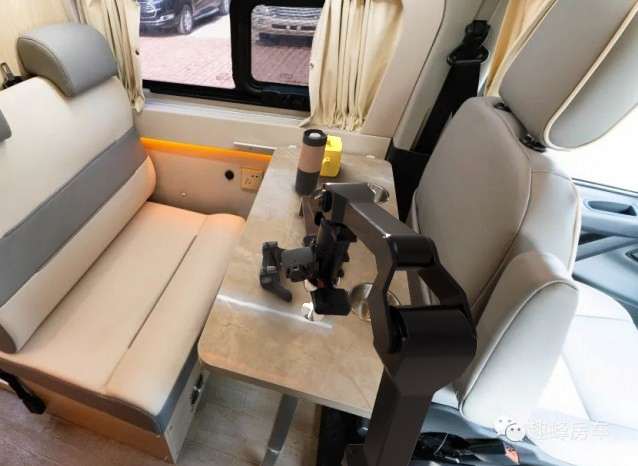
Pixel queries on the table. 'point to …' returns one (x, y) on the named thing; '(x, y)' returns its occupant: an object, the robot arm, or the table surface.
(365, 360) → the table surface
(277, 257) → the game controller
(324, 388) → the table surface
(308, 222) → the chute
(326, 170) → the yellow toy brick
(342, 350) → the table surface
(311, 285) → the wineglass
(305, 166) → the travel mug
